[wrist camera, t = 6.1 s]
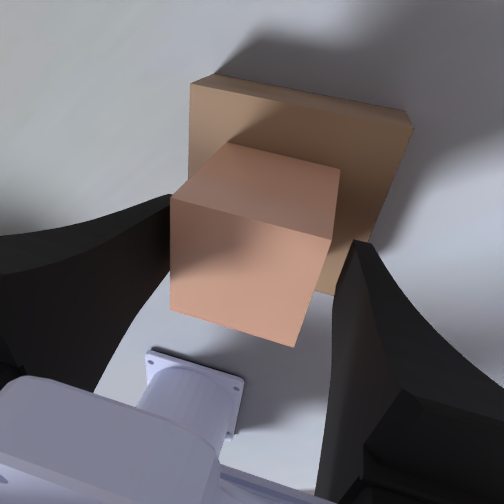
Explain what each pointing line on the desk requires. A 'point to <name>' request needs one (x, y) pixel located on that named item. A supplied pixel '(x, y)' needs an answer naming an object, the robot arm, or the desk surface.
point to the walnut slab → (306, 146)
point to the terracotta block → (251, 240)
